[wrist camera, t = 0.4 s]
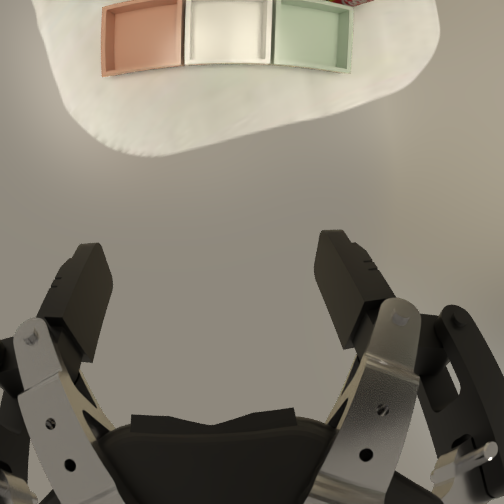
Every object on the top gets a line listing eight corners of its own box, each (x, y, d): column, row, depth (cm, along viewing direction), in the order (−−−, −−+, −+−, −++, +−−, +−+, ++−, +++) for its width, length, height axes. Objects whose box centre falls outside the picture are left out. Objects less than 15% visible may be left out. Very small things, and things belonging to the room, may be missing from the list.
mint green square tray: (270, 0, 22) (276, -7, 19) (341, 11, 23) (353, 7, 20) (268, 64, 27) (273, 64, 24) (337, 72, 28) (350, 73, 25)
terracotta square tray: (112, 12, 20) (102, 7, 17) (185, 0, 21) (182, -8, 18) (112, 76, 25) (101, 77, 22) (184, 65, 26) (180, 64, 23)
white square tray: (189, 0, 21) (186, -8, 18) (266, 0, 22) (272, -8, 19) (187, 65, 26) (184, 64, 23) (264, 64, 27) (270, 63, 24)
